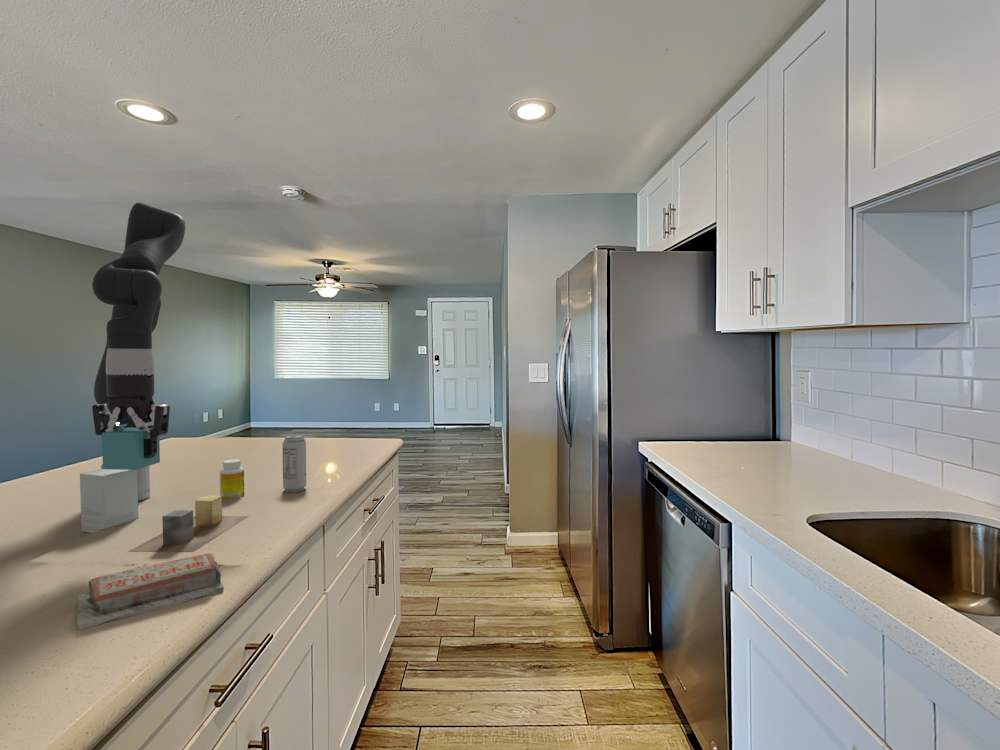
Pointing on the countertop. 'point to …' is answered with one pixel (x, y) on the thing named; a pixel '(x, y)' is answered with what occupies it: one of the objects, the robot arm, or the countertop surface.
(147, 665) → the countertop surface
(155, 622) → the countertop surface
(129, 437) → the teal block
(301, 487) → the energy drink can
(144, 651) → the countertop surface
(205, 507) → the pale yellow block
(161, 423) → the robot arm
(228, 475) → the supplement bottle
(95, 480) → the supplement box
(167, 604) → the packaged product
